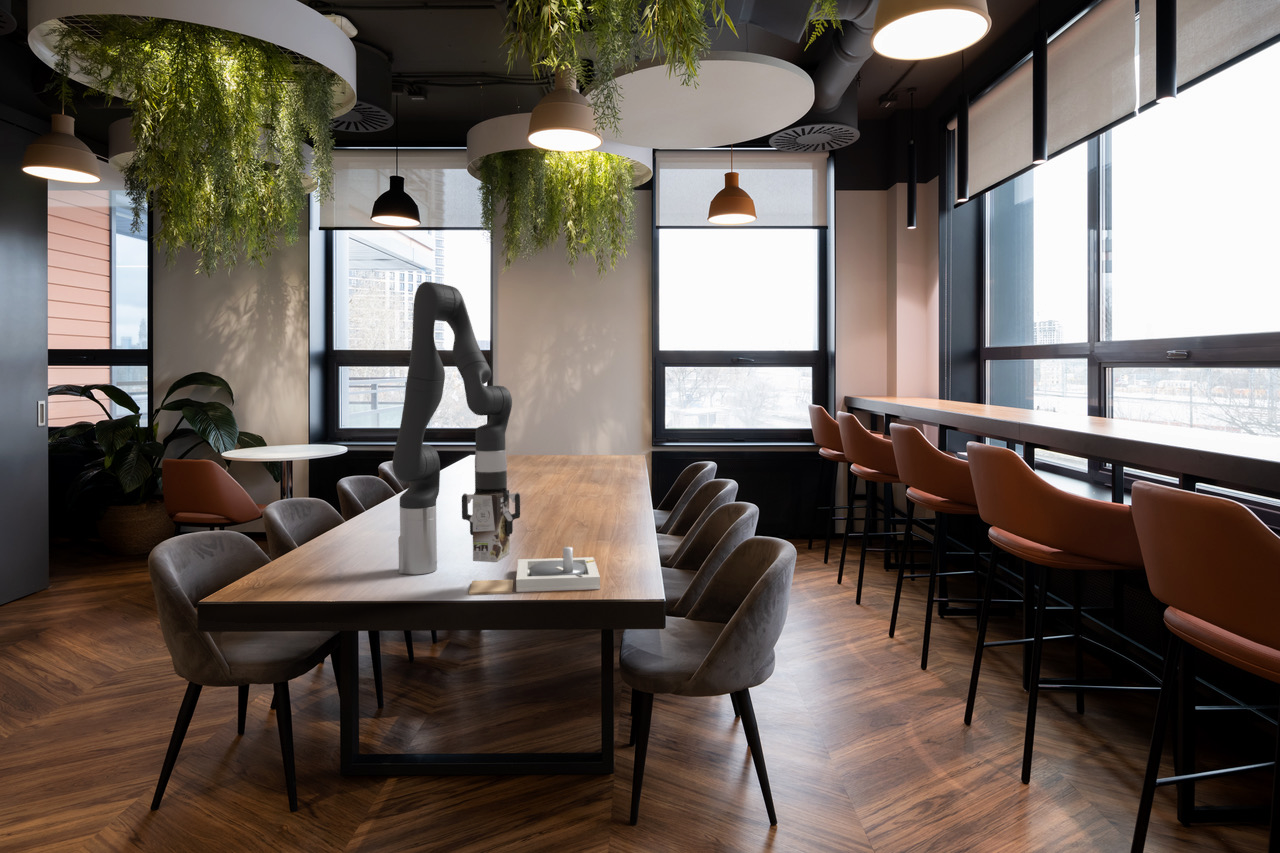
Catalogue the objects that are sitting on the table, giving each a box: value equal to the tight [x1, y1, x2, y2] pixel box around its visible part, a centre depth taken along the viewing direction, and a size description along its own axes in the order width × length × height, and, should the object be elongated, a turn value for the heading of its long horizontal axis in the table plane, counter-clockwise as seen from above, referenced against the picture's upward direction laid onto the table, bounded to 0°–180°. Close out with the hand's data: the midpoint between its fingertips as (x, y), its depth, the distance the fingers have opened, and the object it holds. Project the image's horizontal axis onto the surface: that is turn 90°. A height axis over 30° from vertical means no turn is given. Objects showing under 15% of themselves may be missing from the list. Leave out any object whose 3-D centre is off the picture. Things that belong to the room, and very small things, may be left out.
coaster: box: [468, 579, 514, 596], centre depth 179 cm, size 10×10×1 cm
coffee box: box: [472, 489, 511, 563], centre depth 179 cm, size 9×6×16 cm
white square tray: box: [515, 556, 601, 593], centre depth 187 cm, size 20×20×3 cm
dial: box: [529, 546, 585, 576], centre depth 187 cm, size 14×14×8 cm
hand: (491, 536), depth 179 cm, fingers closed on coffee box, 7 cm apart
